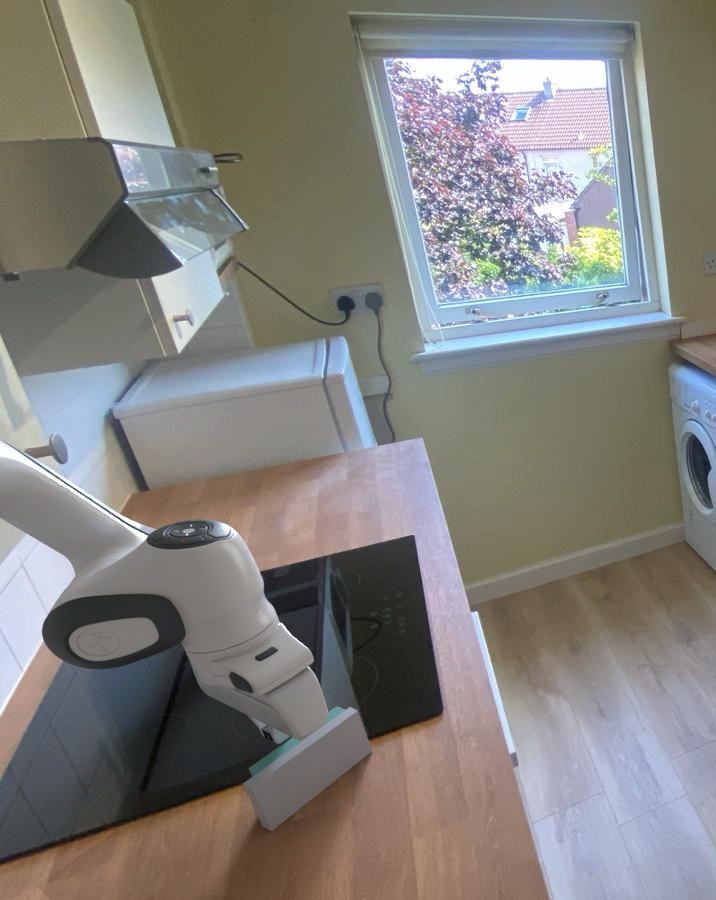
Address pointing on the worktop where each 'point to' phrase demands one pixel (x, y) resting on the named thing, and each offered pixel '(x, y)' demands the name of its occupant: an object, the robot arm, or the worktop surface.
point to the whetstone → (306, 767)
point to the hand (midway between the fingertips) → (277, 736)
